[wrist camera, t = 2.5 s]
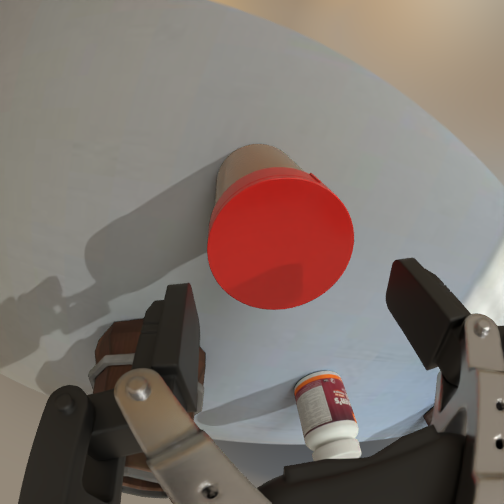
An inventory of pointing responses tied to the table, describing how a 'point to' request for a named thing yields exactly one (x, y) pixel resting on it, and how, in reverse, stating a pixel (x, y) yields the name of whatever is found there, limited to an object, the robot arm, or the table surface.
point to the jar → (249, 164)
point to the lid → (278, 238)
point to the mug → (105, 378)
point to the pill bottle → (327, 417)
